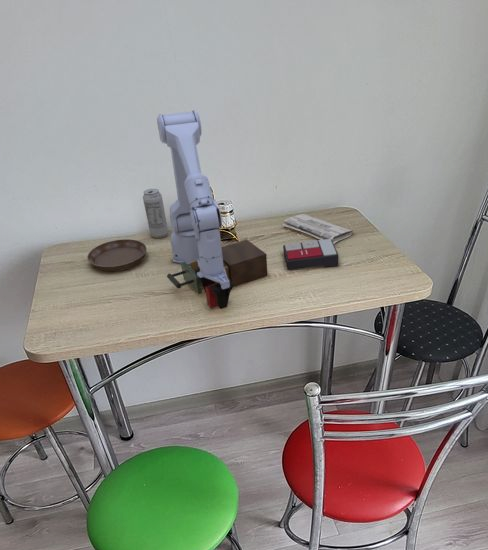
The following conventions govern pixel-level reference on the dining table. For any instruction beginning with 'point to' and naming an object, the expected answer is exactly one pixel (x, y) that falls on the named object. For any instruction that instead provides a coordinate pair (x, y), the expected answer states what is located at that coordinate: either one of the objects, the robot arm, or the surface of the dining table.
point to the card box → (210, 296)
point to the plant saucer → (117, 254)
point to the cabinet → (244, 262)
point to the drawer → (192, 276)
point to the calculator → (310, 254)
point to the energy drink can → (155, 213)
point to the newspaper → (317, 228)
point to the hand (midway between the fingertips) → (216, 301)
